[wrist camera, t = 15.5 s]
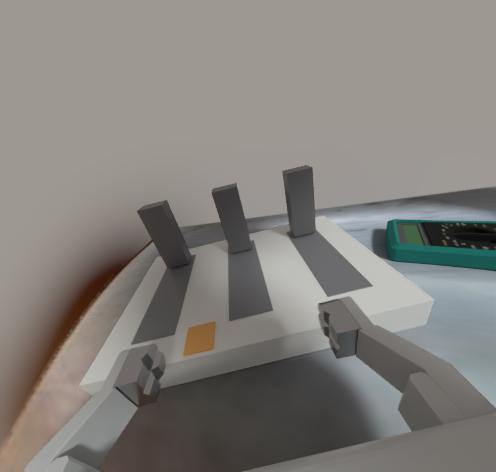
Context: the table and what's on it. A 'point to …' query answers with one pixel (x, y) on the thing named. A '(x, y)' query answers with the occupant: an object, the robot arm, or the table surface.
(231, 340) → the box
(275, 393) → the table surface
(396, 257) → the digital multimeter
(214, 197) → the post
